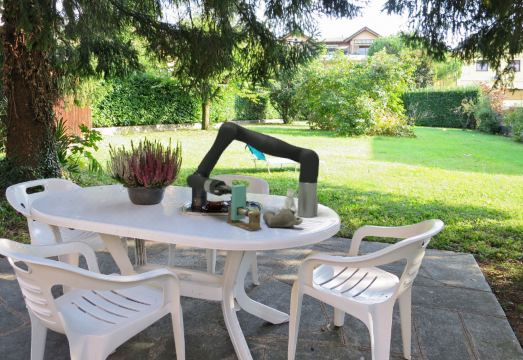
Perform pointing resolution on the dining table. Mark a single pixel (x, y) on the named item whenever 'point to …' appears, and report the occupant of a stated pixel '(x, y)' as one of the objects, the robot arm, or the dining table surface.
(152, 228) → the dining table surface
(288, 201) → the seated beast figurine
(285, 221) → the pipe
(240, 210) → the wooden dowel plank
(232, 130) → the robot arm
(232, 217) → the teal flat board
